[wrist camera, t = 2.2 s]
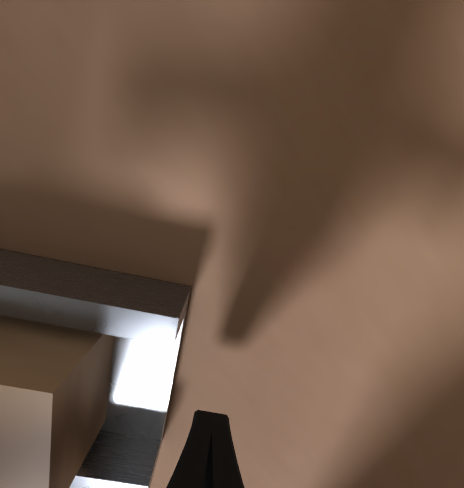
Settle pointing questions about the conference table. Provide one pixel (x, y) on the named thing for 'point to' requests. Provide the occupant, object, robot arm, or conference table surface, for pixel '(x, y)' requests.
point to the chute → (124, 352)
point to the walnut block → (49, 400)
